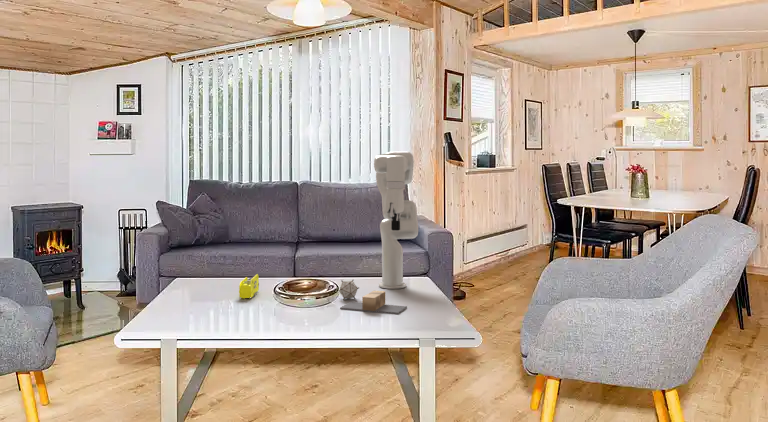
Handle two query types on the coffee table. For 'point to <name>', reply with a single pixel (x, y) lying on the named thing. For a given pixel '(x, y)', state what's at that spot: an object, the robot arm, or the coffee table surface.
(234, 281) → the coffee table surface
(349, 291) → the game die
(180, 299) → the coffee table surface
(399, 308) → the mat
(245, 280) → the yellow toy chassis
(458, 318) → the coffee table surface
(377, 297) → the oak block
